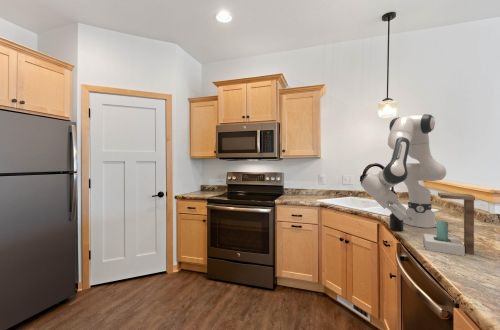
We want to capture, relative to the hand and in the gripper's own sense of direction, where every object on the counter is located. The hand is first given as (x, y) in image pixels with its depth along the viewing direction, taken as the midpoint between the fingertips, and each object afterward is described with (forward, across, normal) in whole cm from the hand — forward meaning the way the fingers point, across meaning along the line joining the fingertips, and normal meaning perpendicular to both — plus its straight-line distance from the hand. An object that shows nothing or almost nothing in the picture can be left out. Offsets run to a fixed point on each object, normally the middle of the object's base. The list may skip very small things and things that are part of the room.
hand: (412, 222), depth 112 cm
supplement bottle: (+3, +23, +12) cm, 26 cm away
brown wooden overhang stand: (+19, 0, -4) cm, 19 cm away
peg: (+15, 0, -1) cm, 15 cm away
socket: (+15, 0, -1) cm, 15 cm away
